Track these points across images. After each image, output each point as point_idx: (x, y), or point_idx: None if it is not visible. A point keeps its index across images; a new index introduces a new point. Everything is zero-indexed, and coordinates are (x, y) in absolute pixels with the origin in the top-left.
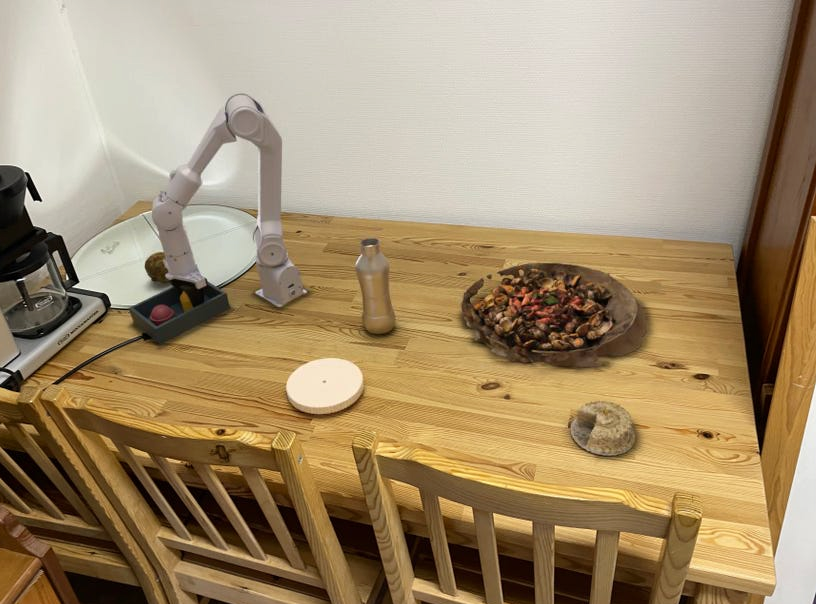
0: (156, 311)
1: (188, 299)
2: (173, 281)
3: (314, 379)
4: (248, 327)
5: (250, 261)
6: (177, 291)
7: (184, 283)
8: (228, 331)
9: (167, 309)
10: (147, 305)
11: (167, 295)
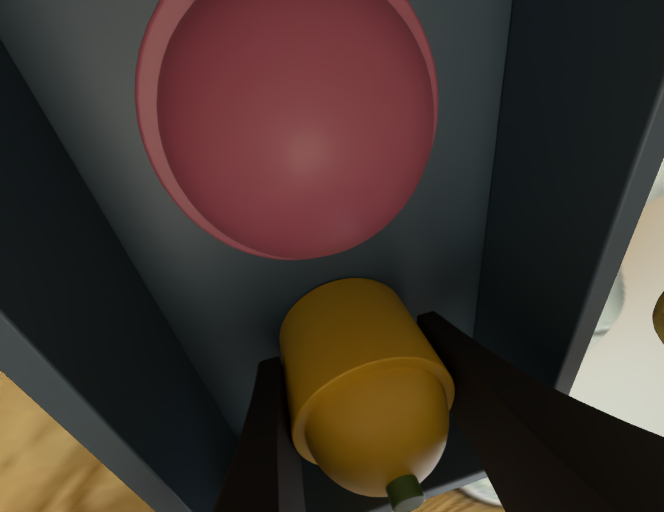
0: (244, 65)
1: (319, 416)
2: (586, 506)
3: None
4: (10, 491)
5: (486, 484)
6: (487, 377)
7: (502, 467)
8: (5, 426)
9: (247, 239)
10: (608, 51)
11: (553, 268)
